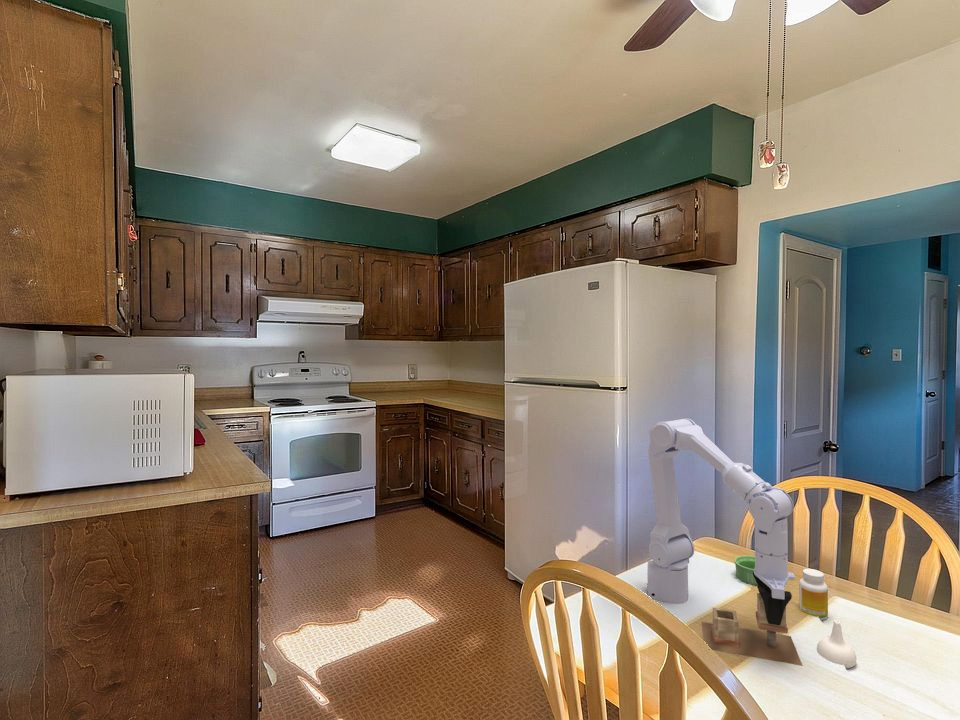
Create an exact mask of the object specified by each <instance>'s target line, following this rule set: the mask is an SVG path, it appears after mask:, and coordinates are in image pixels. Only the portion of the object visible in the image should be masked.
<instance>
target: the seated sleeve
mask: <svg viewBox="0 0 960 720" xmlns="http://www.w3.org/2000/svg"><path fill="white" fill-rule="evenodd" d="M712 624H713V626H712V625H711V631H712V638H713V643H717V644H723V645H729V646H734V647H740V638H739V629H738V628H739V619H738V614H737V611H736V610H732V609H725V608H718V607H712Z"/></svg>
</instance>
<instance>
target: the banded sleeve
mask: <svg viewBox="0 0 960 720" xmlns="http://www.w3.org/2000/svg"><path fill="white" fill-rule="evenodd" d="M756 596H757V597H756V601H757V602H756V603H757V604H756V606H757V607H756V608H757V609H756V610H757V611H755V620H756V623H757V626H758V629H759V630H763V631H764V630H765V631H767V630H769V631H775V632H776V633H782V634H788V633H789V628H788V625H787V607H786V608H785V610H784V614H783V618H782V621H781V624H780V625H774V624H769V623H768V621H767V618H766V613H765V606H764V602H763V599H762V597H761V595H760V593H758V592H757V595H756Z"/></svg>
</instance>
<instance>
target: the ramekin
mask: <svg viewBox="0 0 960 720" xmlns="http://www.w3.org/2000/svg"><path fill="white" fill-rule="evenodd" d="M733 561H734V565H735V571H736V572H735V573H736V576H737V578H738V580H740V581H741V580H742V582H743V583H745V582H746V584H747V585H748V584H749V585H751V586H752V585H753V586H758V584H757V582H756V580H755V578H754V576H753V572H754V568H755V555H748V554H747V555H746V554H745V555H738V556H735V558H734V559H733Z"/></svg>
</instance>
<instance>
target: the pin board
mask: <svg viewBox="0 0 960 720" xmlns="http://www.w3.org/2000/svg"><path fill="white" fill-rule="evenodd" d="M711 625H712V626H713V623H710V622H705V621H701V629H702V630H701V631H702V641H703V640H704V641H705V642H706V644H708V646H709V647H710V648H711V649H712V650H711V651H717V652H722V653H728V654H733V655H738V656H745V657H750V658H756V659H761V660H762V659H763V660H768V661H773V662H778V663H779V662H780V663H784V664H791V665H795V666H803V664H802V662H801V658H800V656H799V654H798V651H797V648H796V645H795V643H794V641H793V638H792V636H791V635H785V634H779V633H777V632H775V631H769V630H766V631H762V630H761V631H760V630H755V629H747V628H742V627H738V629H739V638H740V647H734V646H729V645H723V644H717V643H713V638H712V631H711ZM704 641H703V642H704Z"/></svg>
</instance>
